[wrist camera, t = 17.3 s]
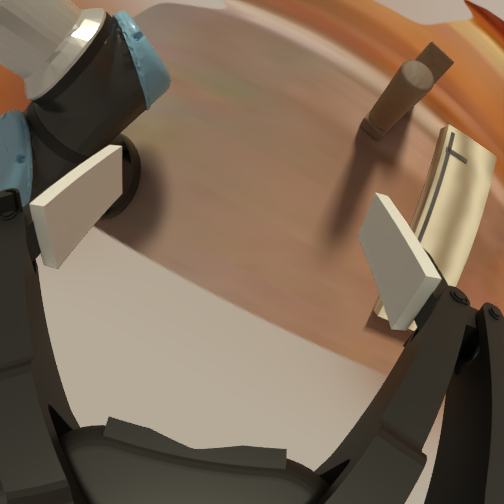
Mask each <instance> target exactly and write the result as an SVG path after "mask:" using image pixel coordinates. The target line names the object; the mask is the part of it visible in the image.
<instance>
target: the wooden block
mask: <svg viewBox="0 0 504 504" xmlns="http://www.w3.org/2000/svg"><path fill="white" fill-rule="evenodd" d="M453 63H454V61H453V60H452V59H450V58H449V57H448V56H447V55H446V54H445V53H444V52H443V51H442V50H441V49H440V48H439V47H438V46H436V45H435V44H434V43H433V42H430V43H429V45H428V46H427V47H426V48H425V49H424V50H423V51H422V53H421V54H420V55H419V56H418V57H417V58H416V59H415V60H409V61H406V62H404V63H403V64H402V65H401V67H400V68H399V70H398V71H397V73H396V74H395V76H394V77H393V79H392V80H391V82H390V83H389V85H388V86H387V88H386V89H385V91H384V92H383V94H382V95H381V96H380V98H379V99H378V101H377V102H376V104H375V105H374V107H373V108H372V110H371V111H370V112H369V113H368V114H367V115H366V116H365V118H364V119H363V121H362V122H361V124H360V125H361V127H362V128H363V129H365V130H366V131H367V132H368V133H369V134H370V135H371V136H372V137H373V138H374V139H375V140H376V141H379V140H380V139H381V138H382V137H383V136H384V135H385V134H386V133H387V132H388V131H389V130H390V129H391V128H392V127H393V126H394V125H395V123H396V122H397V121H399V120H400V119H401V118H402V117H403V116H404V115H405V114H406V113H407V112H408V111H409V110H410V109H411V108H412V107H413V106H414V105H415V104H417V103H418V102H419V101H420V100H421V99H422V98H423V97H424V96H425V95H426V94H427V93H428V92H429V91H430V90H431V89H432V87H433V85H434V84H435V83H436V82H437V80H438V79H439V78H440V77H441V76H442V75H443V74H444V73H445V72H446V71H447V70H448V69H449V68H450V67H451V66H452V65H453Z"/></svg>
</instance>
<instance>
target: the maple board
mask: <svg viewBox="0 0 504 504" xmlns="http://www.w3.org/2000/svg"><path fill="white" fill-rule="evenodd" d="M496 158H497V157H496V156H494V155H493V154H492V153H490V152H489V151H488V150H486V149H485V148H484V147H482V146H481V145H479V144H478V143H477V142H475V141H474V140H472V139H471V138H469V137H468V136H466V135H465V134H463V133H462V132H460V131H459V130H457V129H456V128H454V127H453V126H451V125H447V126H445V127H444V128H442V129H441V130H440V134H439V138H438V142H437V145H436V149H435V153H434V156H433V159H432V163H431V166H430V169H429V173H428V176H427V179H426V182H425V185H424V188H423V191H422V194H421V197H420V200H419V203H418V205H417V208H416V211H415V214H414V216H413V219H412V222H411V224H410V229H411V230H412V232H413V233H414V235H415V236H416V238H417V239H418V241H419V242H420V244H421V245H422V247H423V248H424V249H425V250H426V251H427V252H428V253H429V254H430V255H431V256H432V258H433V260H434V261H435V263H436V265H437V266H438V269H439V270H440V271H441V273H442V275H443V276H444V278H445V280H446V282H447V283H448V285H449V286H454V287H456V285H457V282H458V280H459V278H460V275H461V273H462V270H463V268H464V265H465V263H466V260H467V258H468V255H469V252H470V250H471V247H472V244H473V241H474V239H475V236H476V233H477V230H478V227H479V224H480V220H481V217H482V214H483V211H484V207H485V204H486V200H487V196H488V193H489V189H490V185H491V181H492V177H493V172H494V168H495V163H496ZM373 310H374V312H375V313H376V314H377V316H379V317H381V318H384V319H386V320H388V317H387V314H386V311H385V308H384V305H383V303H382V300H381V297H380V296H379V298H378V300H377V302H376V304H375V306H374V308H373ZM416 328H417V326H416V323H415V321H413V322H412V324H411V325H410V327H409V328H408V329H410V330H413V331H415V330H416Z"/></svg>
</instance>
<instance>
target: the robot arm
mask: <svg viewBox="0 0 504 504" xmlns="http://www.w3.org/2000/svg"><path fill="white" fill-rule="evenodd" d="M0 64H1V65H2V66H4V67H5V68H7V69H9V70H11V71H12V72H14V73H16V74H17V75H19V76H21V77H22V78H23V79H24V86H25V95H26V97H27V98H28V99H29V100H31V101H32V102H31V103H30V104H29V105H28V107H27V108H26V109H25V111H24V112H21V111H19V110H14V111H9V112H7V113H4V114H3V115H2V116H1V117H0V504H404V503H405V502H406V500H407V498H408V497H409V495H410V493H411V491H412V489H413V488H414V485H415V484H416V482H417V480H418V479H419V477H420V475H421V472H422V470H423V469H424V467H425V464H426V461H427V456H426V455H425V454H424V453H422V448H423V446H424V443H425V441H426V439H427V437H428V435H429V433H430V430H431V428H432V426H433V424H434V421H435V419H436V417H437V414H438V411H439V409H440V407H441V404H442V402H443V399H444V396H445V394H446V398H445V407H444V414H443V421H442V428H441V435H440V440H439V445H438V450H437V455H436V460H435V464H434V469H433V473H432V477H431V481H430V485H429V488H428V492H427V495H426V499H425V502H424V504H504V317H503V315H502V313H501V311H500V309H498V307H496V306H494V305H493V304H491V303H484V304H483V306H482V307H481V308H480V310H477V309H474V308H472V307H470V302H469V300H468V298H467V296H466V295H465V294H464V293H463V292H462V291H461V290H460V289H458V288H456V287H454V286H449V285H448V283H447V282H446V280H445V278H444V276H443V275H442V273H441V271H440V270H439V269H438V266H437V265H436V263H435V261H434V260H433V258H432V256H431V255H430V254H429V253H428V252H427V251H426V250H425V249H424V248H423V247H422V245H421V244H420V242H419V241H418V239H417V238H416V236H415V235H414V233H413V232H412V230H411V229H410V227H409V226H408V224H407V223H406V221H405V220H404V218H403V217H402V215H401V214H400V212H399V211H398V210H397V208H396V207H395V205H394V204H393V203H392V201H391V200H390V198H389V197H388V196H386V195H382V194H379V193H375V194H374V197H373V200H372V202H371V205H370V207H369V210H368V212H367V215H366V217H365V220H364V222H363V225H362V227H361V230H360V232H359V235H358V238H359V241H360V243H361V246H362V248H363V251H364V253H365V256H366V259H367V261H368V264H369V266H370V269H371V272H372V274H373V277H374V280H375V283H376V285H377V288H378V291H379V294H380V297H381V300H382V303H383V305H384V308H385V311H386V314H387V317H388V321H389V324H390V327H391V329H394V330H405V331H407V329H408V328H409V327H410V325H411V324H412V322H413V321H415V323H416V326H417V328H416V330H415V331H414V332H413V333H412V335H411V336H410V337H409V339H408V340H407V341H406V342H405V344H404V345H403V346H404V347H405V348H404V350H403V352H402V353H401V355H400V357H399V359H398V360H397V362H396V364H395V366H394V367H393V369H392V371H391V372H390V374H389V375H388V377H387V379H386V380H385V382H384V383H383V385H382V387H381V388H380V390H379V391H378V393H377V395H376V396H375V397H374V399H373V401H372V402H371V403H370V405H369V406H368V408H367V409H366V411H365V412H364V413H363V415H362V416H361V418H360V419H359V421H358V422H357V423H356V425H355V426H354V427H353V429H352V430H351V431H350V433H349V434H348V435H347V436H346V438H345V439H344V440H343V442H342V443H341V444H340V446H339V447H338V448H337V449H336V450H335V452H334V453H333V454H332V455H331V456H330V457H329V458H328V459H327V460H326V461H325V462H324V463H323V464H322V465H321V466H320V467H319V468H318V469H317V470H316V471H314V472H313V471H312V470H311V469H309V468H307V467H305V466H304V465H302V464H299V463H297V462H295V461H292V460H290V459H286V449H276V448H263V447H252V446H234V447H224V448H212V449H193V448H189V447H187V446H185V445H183V444H181V443H178V442H176V441H174V440H172V439H170V438H168V437H166V436H164V435H162V434H160V433H158V432H156V431H154V430H152V429H150V428H146V427H142V426H138V425H135V424H132V423H128V422H124V421H122V420H118V419H115V418H112V417H109V418H108V421H107V424H106V426H104V425H98V426H87V427H82V428H80V426H79V424H78V422H77V421H76V419H75V417H74V415H73V413H72V411H71V409H70V407H69V404H68V401H67V398H66V395H65V392H64V389H63V386H62V382H61V379H60V376H59V372H58V369H57V365H56V362H55V358H54V354H53V350H52V346H51V342H50V338H49V334H48V328H47V324H46V319H45V313H44V308H43V302H42V296H41V289H40V282H39V274H38V266H37V263H36V258H37V257H38V255H39V254H40V253H41V257H42V260H43V264H44V265H45V266H49V267H52V268H56V269H58V268H59V267H60V266H61V264H62V263H63V262H64V261H65V259H66V258H67V257H68V256H69V254H70V253H71V251H73V249H74V248H75V247H76V246H77V244H78V243H79V242H80V241H81V240H82V238H83V237H84V236H85V235H86V234H87V232H88V231H89V230H90V229H91V228H92V227H93V225H94V224H95V223H96V222H97V221H98V220H99V219H108V218H111V217H114V216H116V215H117V214H119V213H120V212H122V211H123V210H124V209H125V208H126V207H127V205H128V204H129V203H130V201H131V200H132V198H133V196H134V194H135V192H136V190H137V187H138V183H139V179H140V159H139V155H138V152H137V149H136V147H135V146H134V144H133V143H132V141H131V140H130V139H129V138H128V137H126V136H125V135H123V134H121V132H122V131H123V130H124V129H125V128H126V127H127V126H128V125H129V124H130V123H132V122H133V121H134V120H135V119H136V118H137V117H138V116H139V115H140V114H142V113H143V112H144V111H145V110H148V109H149V108H150V107H151V104H153V103H154V102H155V101H156V100H157V99H158V98H159V97H160V96H161V95H163V94H164V93H165V92H166V91H167V89H168V88H169V86H170V82H171V78H170V74H169V72H168V70H167V68H166V67H165V65H164V64H163V62H162V60H161V59H160V57H159V56H158V54H157V53H156V51H155V50H154V48H153V47H152V45H151V44H150V43H149V41H148V40H147V38H146V37H145V36H144V35H143V33H142V31H141V30H140V29H139V27H138V26H137V24H136V23H135V21H134V20H133V19H132V18H131V16H130V15H129V14H128V13H127V12H126V11H120V12H118V13H115V14H114V15H113V17H111V16H110V15H109V14H108V13H107V12H106V11H105V10H104V9H102V8H93V9H86V10H81V9H79V8H78V7H77V6H76V5H74V4H73V3H72V2H71V1H70V0H0Z"/></svg>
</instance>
